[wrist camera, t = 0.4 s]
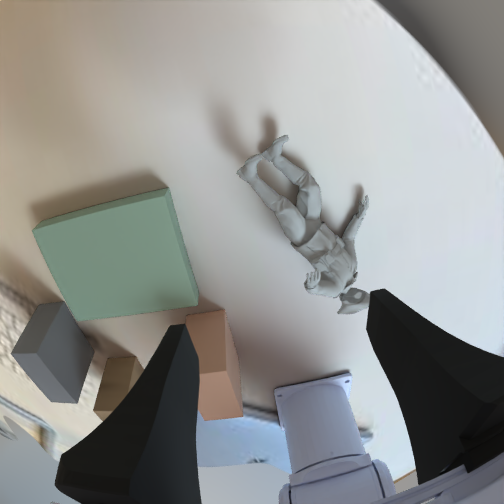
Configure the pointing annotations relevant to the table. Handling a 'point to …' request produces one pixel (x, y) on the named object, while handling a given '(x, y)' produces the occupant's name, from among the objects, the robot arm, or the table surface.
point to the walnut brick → (116, 384)
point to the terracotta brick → (216, 365)
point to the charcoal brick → (54, 353)
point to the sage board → (119, 257)
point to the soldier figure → (312, 230)
